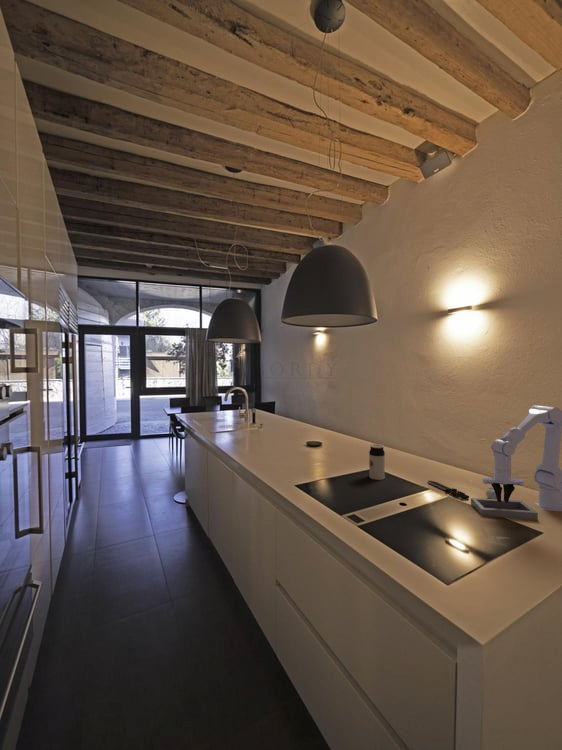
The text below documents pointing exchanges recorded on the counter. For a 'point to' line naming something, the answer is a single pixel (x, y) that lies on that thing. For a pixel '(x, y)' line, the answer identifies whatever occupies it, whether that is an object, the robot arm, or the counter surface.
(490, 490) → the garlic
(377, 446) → the travel mug
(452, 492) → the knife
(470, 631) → the counter surface
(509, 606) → the counter surface
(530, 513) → the tray
